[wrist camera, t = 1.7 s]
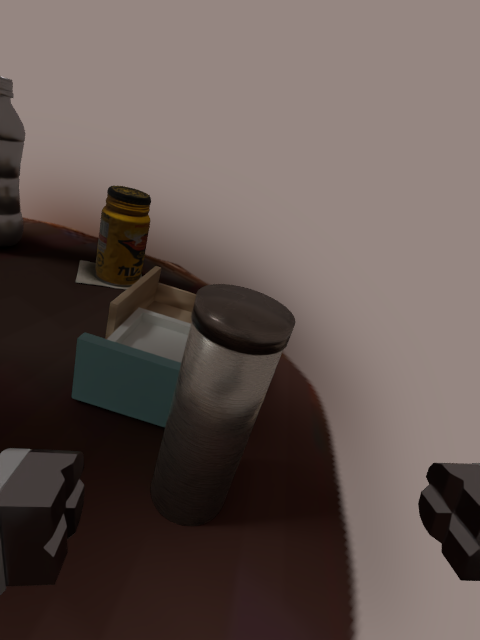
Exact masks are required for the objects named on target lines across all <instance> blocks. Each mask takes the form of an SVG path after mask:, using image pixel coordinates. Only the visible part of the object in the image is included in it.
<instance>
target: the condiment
mask: <svg viewBox="0 0 480 640" xmlns="http://www.w3.org/2000/svg"><path fill="white" fill-rule="evenodd" d="M150 203H151V199H150V196H149V195H148V194H146V193H144V192H142V191H139V190H136V189H132V188H128V187H123V186H111V187H109V188H108V197H107V199H106V206H105V207H104V208H103V210H102V213H101V214H102V215H101V223H100V233H99V240H98V248H97V257H96V263H92V262H89V261H82V260H80V263H79V268H78V274H77V279H76V282H78V283H86V284H95V285H103V286H108V287H113V288H120V289H128V288H129V287H131V286H132V285H133V284H134V283H135V282H137V281H138V280H139V279H140V278H142V274H141V272H142V265H143V260H144V256H145V249H146V243H147V237H148V231H149V227H150V226H149V225H150V218H149V216H148V213H149V207H150ZM92 278H94V279H92ZM95 279H96V280H95Z"/></svg>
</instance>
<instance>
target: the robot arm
mask: <svg viewBox="0 0 480 640" xmlns="http://www.w3.org/2000/svg"><path fill="white" fill-rule="evenodd" d="M83 469H84V458H83V454H82V452H79V451H60V450H41V449H33V450H32V449H15V448H8V449H6V450H4V451H2V452H1V453H0V595H1V594H2V593H3V592H4V591H5V590H6V586H31V585H55V583H56V580H57V578H58V575H59V573H60V570H61V568H62V565H63V563H64V560H65V558H66V555H67V553H68V547H67V539H68V538H69V537H71V536H72V535H73V534H74V533H75V532H76V529H77V527H78V524H79V521H80V518H81V513H82V509H83V504H84V484H83V483H82V482H81V480H80V479H79V478H80V476H81V474H82V471H83ZM426 478H427V480H428V482H429V485H428V486H427V487H426V488H425V489H424V490H423V491H422V492H421V495H420V499H419V503H418V505H419V513H420V517H421V520H422V523H423V525H424V527H425V528H426V530H427V531H428V533H429V534H430V535H431V536H432V537H434V538H435V539H436V540H438V541H439V542H441V543H442V553H443V555H444V557H445V558H446V559H447V561H448V562H449V564H450V565H451V567H452V568H453V570H454V571H455V573H456V574H457V575H458V577H459V578H460V580H466V581H480V463H472V464H457V463H456V464H455V463H433V464H432V465H431V466H430V467H429V469H428V472H427V475H426Z"/></svg>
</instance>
